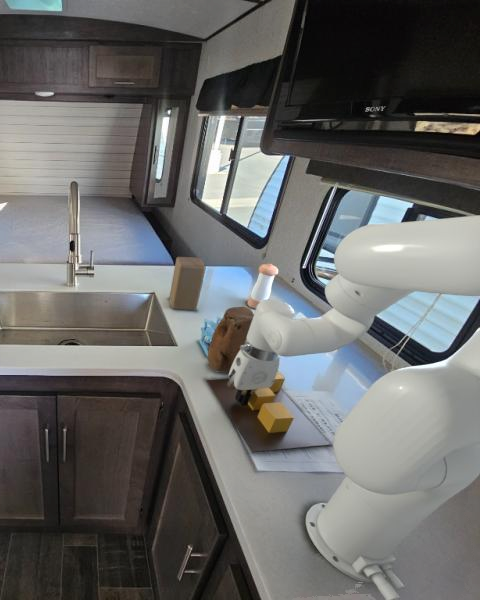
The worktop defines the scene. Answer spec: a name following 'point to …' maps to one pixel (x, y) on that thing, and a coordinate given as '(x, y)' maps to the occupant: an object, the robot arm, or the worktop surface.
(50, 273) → the worktop surface
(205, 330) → the light blue crumpled piece
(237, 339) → the brown rounded lump
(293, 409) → the mat
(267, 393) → the ochre block
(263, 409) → the ochre block
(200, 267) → the wooden block
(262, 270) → the pepper shaker
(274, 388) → the ochre block
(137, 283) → the worktop surface
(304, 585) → the worktop surface
